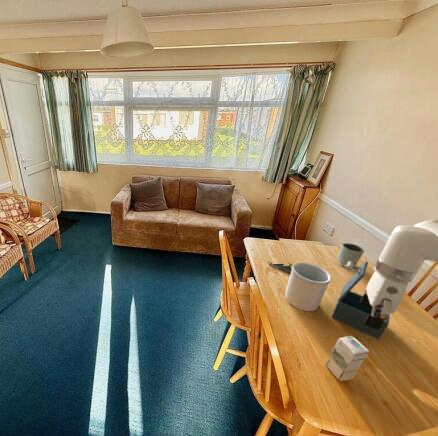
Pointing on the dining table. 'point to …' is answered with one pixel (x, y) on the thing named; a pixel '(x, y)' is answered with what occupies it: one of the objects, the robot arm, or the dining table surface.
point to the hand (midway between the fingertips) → (368, 315)
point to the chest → (357, 314)
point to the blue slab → (353, 278)
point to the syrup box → (346, 358)
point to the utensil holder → (306, 286)
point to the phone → (284, 267)
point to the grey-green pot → (350, 253)
